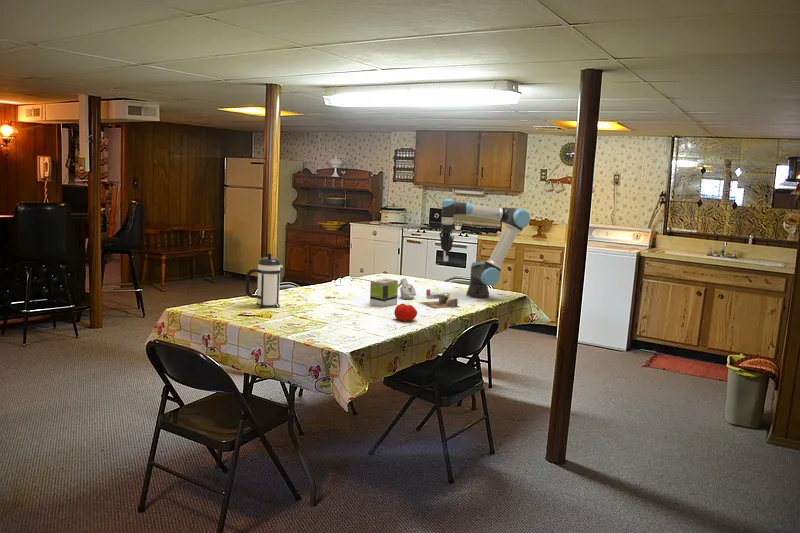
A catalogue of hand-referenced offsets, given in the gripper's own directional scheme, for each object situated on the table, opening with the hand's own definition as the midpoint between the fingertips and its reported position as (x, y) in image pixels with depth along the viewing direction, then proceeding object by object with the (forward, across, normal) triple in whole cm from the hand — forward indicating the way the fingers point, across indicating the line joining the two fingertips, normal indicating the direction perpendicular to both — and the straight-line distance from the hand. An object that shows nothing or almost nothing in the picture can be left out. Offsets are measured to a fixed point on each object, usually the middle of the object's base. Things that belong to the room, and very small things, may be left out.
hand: (445, 261), depth 399 cm
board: (+25, +16, -15) cm, 34 cm away
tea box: (+24, +1, -46) cm, 52 cm away
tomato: (+24, +41, -55) cm, 73 cm away
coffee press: (+22, -12, -114) cm, 117 cm away
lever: (+23, +15, -15) cm, 31 cm away
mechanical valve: (+25, -16, -23) cm, 38 cm away
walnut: (+24, +21, -11) cm, 33 cm away
